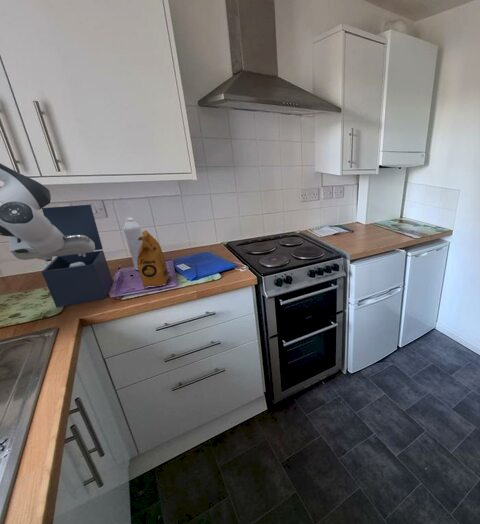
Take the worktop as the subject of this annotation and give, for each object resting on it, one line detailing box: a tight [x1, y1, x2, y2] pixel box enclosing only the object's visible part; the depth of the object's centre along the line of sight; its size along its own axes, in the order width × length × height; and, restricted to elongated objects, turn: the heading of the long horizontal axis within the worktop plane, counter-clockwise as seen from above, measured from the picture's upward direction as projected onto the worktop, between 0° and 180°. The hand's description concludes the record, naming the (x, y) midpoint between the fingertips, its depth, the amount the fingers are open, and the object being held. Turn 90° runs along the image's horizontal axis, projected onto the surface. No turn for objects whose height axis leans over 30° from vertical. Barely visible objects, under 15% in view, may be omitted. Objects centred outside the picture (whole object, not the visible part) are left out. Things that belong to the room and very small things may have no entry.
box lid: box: [41, 204, 104, 251], centre depth 121 cm, size 18×15×4 cm
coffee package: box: [137, 229, 170, 288], centre depth 125 cm, size 10×12×22 cm
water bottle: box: [123, 216, 143, 270], centre depth 138 cm, size 9×6×25 cm
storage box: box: [41, 249, 114, 308], centre depth 117 cm, size 18×15×14 cm
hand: (66, 257), depth 109 cm, fingers open, 8 cm apart
